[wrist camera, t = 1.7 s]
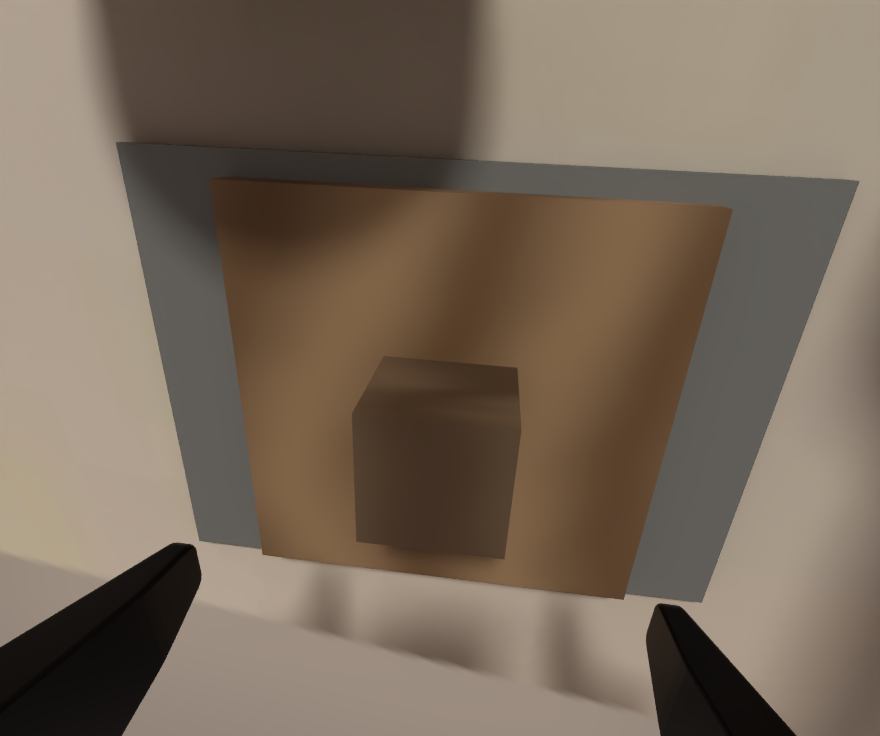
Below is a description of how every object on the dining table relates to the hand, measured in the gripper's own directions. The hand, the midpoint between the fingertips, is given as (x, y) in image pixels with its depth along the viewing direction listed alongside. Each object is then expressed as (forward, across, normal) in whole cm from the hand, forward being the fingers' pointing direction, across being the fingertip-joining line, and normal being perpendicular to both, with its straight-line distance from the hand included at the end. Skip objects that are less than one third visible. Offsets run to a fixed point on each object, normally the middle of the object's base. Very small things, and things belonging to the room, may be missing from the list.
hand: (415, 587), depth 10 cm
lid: (+8, 0, 0) cm, 8 cm away
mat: (+8, 0, 0) cm, 8 cm away
